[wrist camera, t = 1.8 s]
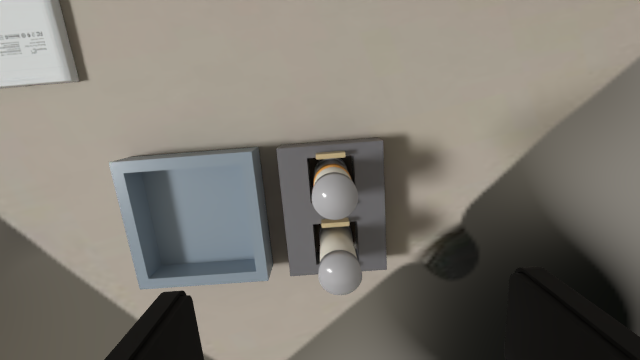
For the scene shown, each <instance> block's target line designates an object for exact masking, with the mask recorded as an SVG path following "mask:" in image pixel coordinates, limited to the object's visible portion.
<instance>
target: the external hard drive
mask: <svg viewBox="0 0 640 360" xmlns="http://www.w3.org/2000/svg"><path fill="white" fill-rule="evenodd" d="M70 82H79V78H78V74H77V70H76V66H75V62H74V58H73V54H72V50H71V46H70V42H69V38H68V34H67V30H66V26H65V22H64V19H63V15H62V11H61V7H60V3H59V0H0V88H11V87H22V86H27V85H46V84H58V83H70Z"/></svg>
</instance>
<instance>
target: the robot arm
mask: <svg viewBox="0 0 640 360" xmlns="http://www.w3.org/2000/svg"><path fill="white" fill-rule="evenodd" d="M504 354H505V358H506V360H640V337H639V336H637V335H636V334H635V333H633V332H632V331H631V330H629V329H628V328H626V327H625V326H624V325H622V324H621V323H619V322H618V321H616V320H615V319H614V318H612V317H611V316H610V315H608V314H607V313H605V312H604V311H602V310H601V309H600V308H598V307H597V306H596V305H594V304H593V303H591V302H590V301H588V300H587V299H586V298H584V297H583V296H582V295H580V294H579V293H577V292H576V291H575V290H573V289H572V288H570V287H569V286H567V285H566V284H564V283H563V282H562V281H560V280H559V279H558V278H556V277H555V276H553V275H552V274H551V273H549V272H548V271H547V270H545V269H544V268H542V267H538V266H537V267H522V268H518V269H516V271H515V273H513V274H511V276H510V280H509V293H508V307H507V320H506V332H505V346H504ZM105 360H204V357H203V352H202V347H201V342H200V336H199V331H198V326H197V321H196V316H195V311H194V306H193V301H192V298H191V296H187V295H186V293H185V292H184V291H172V292H163V293H161V294H160V295H159V296H158V298H157V299H156V300H155V301H154V302H153V303H152V305H151V306H150V307H149V308H148V309H147V310H146V312H145V313H144V314H143V315H142V316H141V317H140V319H139V320H138V321H137V322H136V323H135V324H134V326H133V327H132V328H131V329H130V330H129V332H128V333H127V334H126V335H125V336H124V337H123V339H122V340H121V341H120V342H119V344H117V346H116V347H115V348H114V349H113V350H112V351H111V353H110V354H109V355H108V356H107V357H106V358H105Z"/></svg>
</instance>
